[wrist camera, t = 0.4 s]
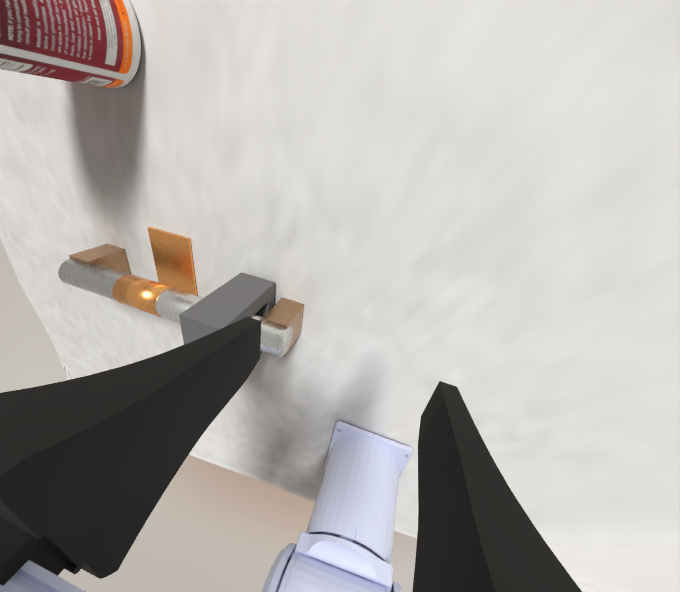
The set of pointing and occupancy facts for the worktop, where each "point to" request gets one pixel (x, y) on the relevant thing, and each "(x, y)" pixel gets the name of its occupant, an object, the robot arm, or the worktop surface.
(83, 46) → the pill bottle
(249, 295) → the collar
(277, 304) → the rail
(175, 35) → the worktop surface
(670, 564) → the worktop surface
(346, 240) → the worktop surface
